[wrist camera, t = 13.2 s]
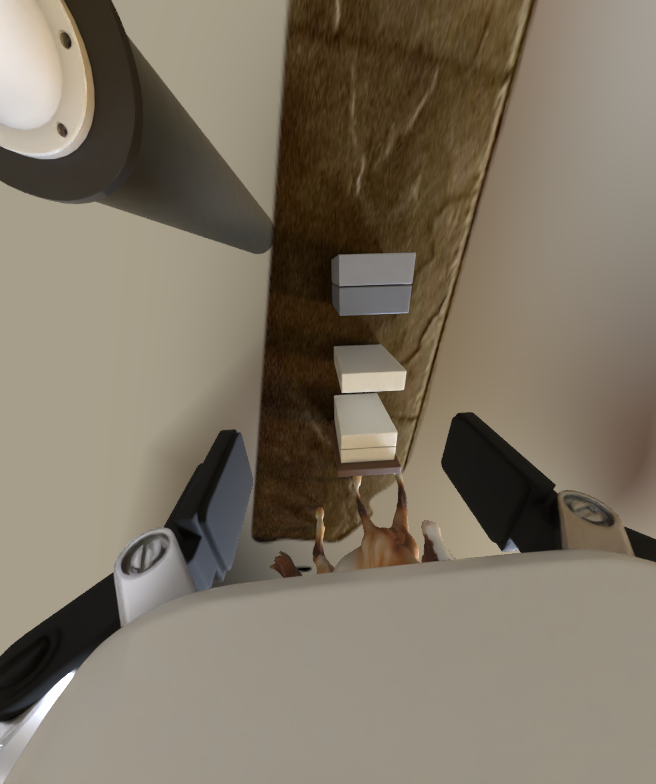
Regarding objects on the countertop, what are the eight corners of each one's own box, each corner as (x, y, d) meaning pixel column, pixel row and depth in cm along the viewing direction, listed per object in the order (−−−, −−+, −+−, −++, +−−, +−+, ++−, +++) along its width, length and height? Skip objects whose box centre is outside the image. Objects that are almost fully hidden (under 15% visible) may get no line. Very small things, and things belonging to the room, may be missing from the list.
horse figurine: (391, 429, 36) (473, 595, 17) (422, 453, 38) (524, 620, 20) (273, 533, 45) (247, 710, 27) (305, 547, 48) (300, 717, 30)
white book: (333, 361, 30) (341, 393, 22) (333, 346, 29) (341, 373, 21) (380, 359, 30) (404, 390, 22) (381, 344, 29) (406, 370, 21)
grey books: (332, 304, 27) (339, 315, 20) (331, 259, 25) (338, 254, 18) (383, 302, 27) (408, 313, 20) (386, 258, 25) (416, 252, 18)
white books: (331, 424, 35) (337, 477, 26) (330, 395, 32) (336, 441, 23) (378, 422, 35) (400, 473, 26) (380, 392, 33) (405, 437, 24)
